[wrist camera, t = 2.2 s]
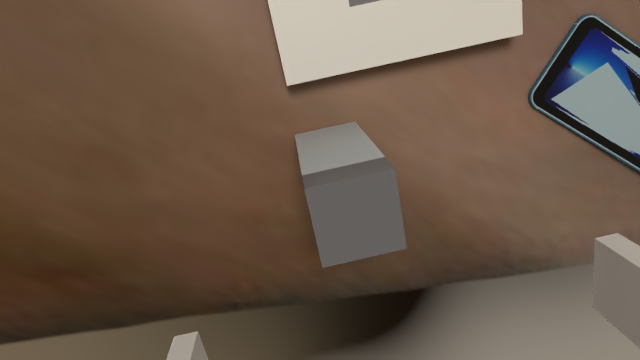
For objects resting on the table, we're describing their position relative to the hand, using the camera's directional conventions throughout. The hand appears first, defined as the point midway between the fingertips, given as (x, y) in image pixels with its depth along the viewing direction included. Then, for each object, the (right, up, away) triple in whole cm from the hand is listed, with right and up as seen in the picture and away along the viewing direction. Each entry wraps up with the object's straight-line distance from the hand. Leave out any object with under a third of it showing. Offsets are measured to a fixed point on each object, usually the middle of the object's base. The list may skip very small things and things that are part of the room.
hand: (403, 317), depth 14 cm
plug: (-2, +6, +18) cm, 19 cm away
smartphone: (+21, +10, +19) cm, 30 cm away
